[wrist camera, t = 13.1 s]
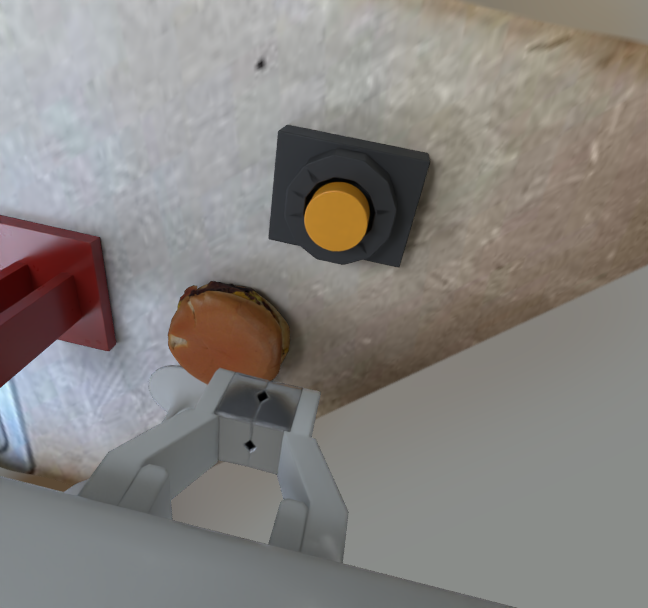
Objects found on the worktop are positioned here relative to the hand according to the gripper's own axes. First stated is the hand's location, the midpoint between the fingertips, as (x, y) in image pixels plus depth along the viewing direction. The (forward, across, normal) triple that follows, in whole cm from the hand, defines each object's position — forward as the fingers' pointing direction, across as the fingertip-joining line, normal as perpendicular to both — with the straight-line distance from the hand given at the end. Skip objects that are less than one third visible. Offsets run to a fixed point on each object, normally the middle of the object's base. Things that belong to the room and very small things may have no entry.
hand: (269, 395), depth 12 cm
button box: (+19, 0, 0) cm, 19 cm away
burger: (+19, +7, +13) cm, 24 cm away
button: (+15, 0, 0) cm, 15 cm away
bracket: (+19, +23, +13) cm, 33 cm away
